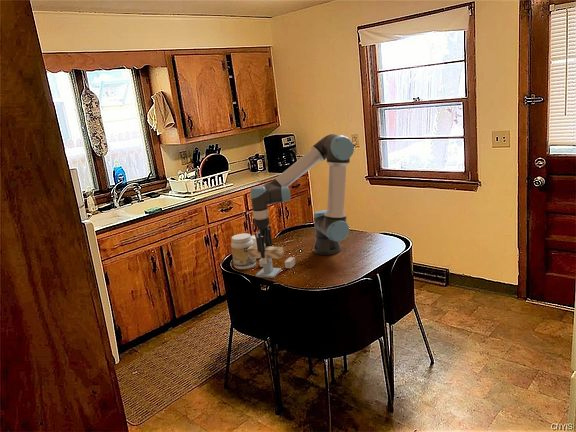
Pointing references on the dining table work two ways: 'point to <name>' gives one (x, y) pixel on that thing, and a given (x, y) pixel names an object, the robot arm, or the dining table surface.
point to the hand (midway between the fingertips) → (266, 261)
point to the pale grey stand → (268, 270)
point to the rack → (288, 263)
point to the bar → (270, 252)
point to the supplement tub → (242, 251)
